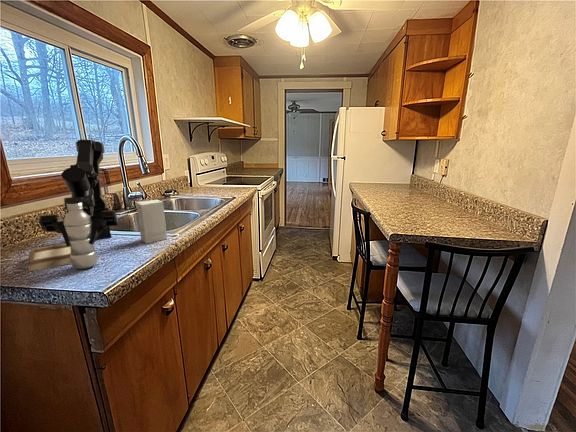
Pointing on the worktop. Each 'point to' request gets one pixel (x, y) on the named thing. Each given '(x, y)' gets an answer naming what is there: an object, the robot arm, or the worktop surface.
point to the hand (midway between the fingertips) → (80, 245)
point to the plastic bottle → (79, 237)
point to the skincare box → (151, 221)
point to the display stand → (48, 257)
